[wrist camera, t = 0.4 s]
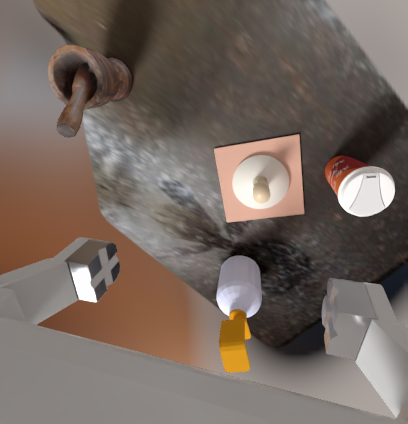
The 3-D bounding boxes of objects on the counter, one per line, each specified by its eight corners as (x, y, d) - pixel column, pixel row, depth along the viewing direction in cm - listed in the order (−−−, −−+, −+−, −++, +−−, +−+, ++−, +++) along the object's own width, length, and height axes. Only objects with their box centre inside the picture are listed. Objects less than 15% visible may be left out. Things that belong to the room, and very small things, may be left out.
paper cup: (319, 151, 52) (342, 170, 39) (364, 148, 51) (403, 166, 38) (317, 190, 55) (338, 220, 42) (359, 188, 54) (394, 219, 41)
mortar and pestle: (153, 104, 53) (104, 111, 35) (119, 128, 56) (57, 145, 38) (117, 45, 50) (43, 19, 32) (83, 73, 53) (-3, 63, 35)
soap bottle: (226, 289, 68) (215, 386, 45) (216, 258, 65) (199, 346, 42) (263, 283, 65) (271, 383, 43) (254, 251, 62) (257, 339, 40)
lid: (228, 159, 55) (225, 169, 48) (286, 150, 52) (292, 159, 45) (236, 210, 59) (235, 226, 52) (290, 204, 56) (296, 220, 49)
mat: (214, 148, 55) (213, 148, 54) (298, 134, 51) (299, 134, 51) (227, 221, 60) (226, 222, 60) (304, 213, 57) (304, 213, 57)
